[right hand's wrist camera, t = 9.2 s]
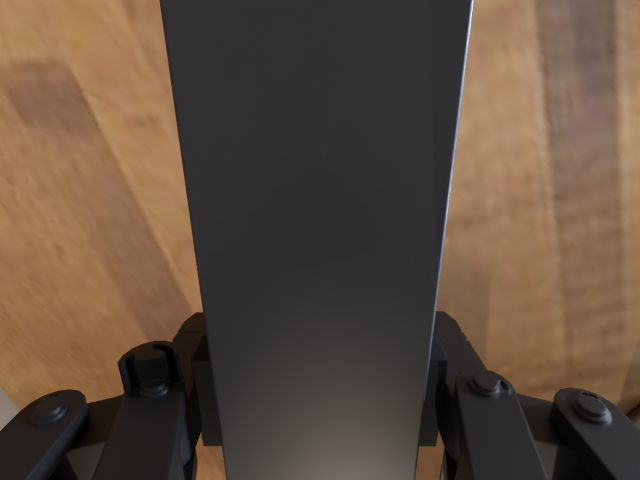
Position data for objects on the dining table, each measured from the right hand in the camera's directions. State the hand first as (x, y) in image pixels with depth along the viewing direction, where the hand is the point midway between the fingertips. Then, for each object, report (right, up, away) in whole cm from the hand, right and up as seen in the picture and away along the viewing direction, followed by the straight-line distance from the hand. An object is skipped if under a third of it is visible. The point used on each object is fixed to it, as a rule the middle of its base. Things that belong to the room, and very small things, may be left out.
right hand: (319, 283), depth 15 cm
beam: (0, +10, -3) cm, 10 cm away
